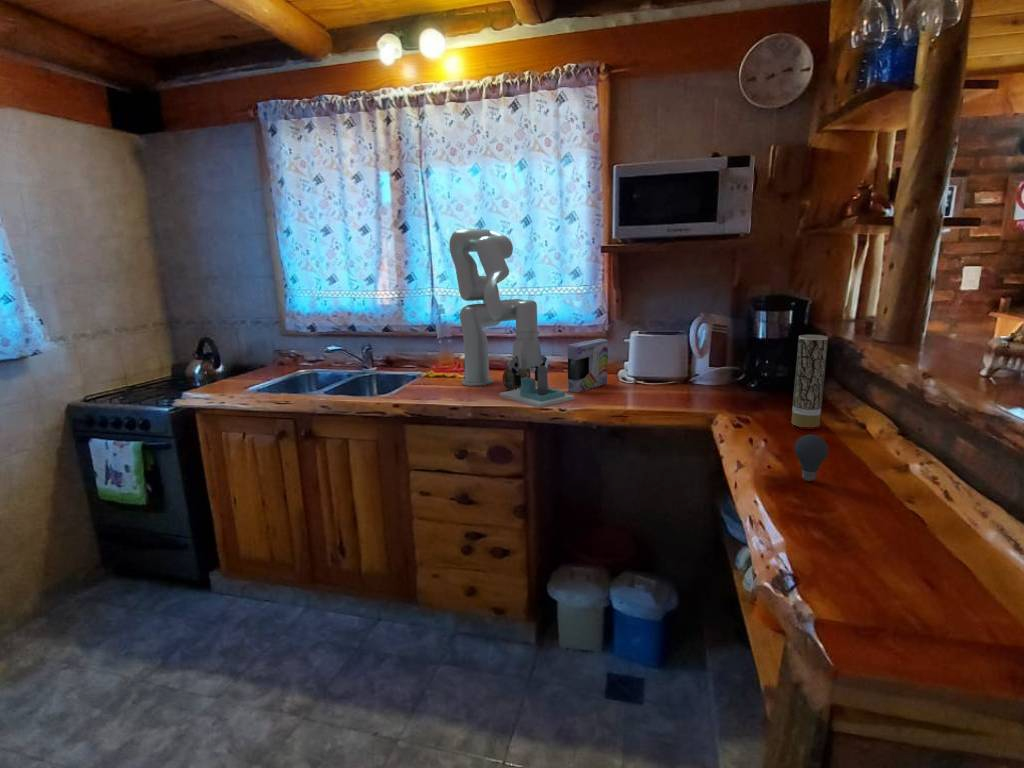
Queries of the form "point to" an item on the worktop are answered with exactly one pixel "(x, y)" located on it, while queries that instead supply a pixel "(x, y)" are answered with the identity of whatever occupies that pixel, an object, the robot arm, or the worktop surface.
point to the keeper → (542, 390)
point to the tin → (509, 378)
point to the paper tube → (809, 380)
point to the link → (530, 391)
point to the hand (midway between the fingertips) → (528, 383)
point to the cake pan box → (587, 364)
